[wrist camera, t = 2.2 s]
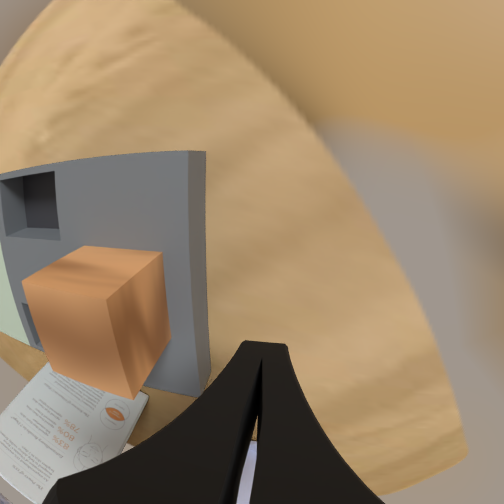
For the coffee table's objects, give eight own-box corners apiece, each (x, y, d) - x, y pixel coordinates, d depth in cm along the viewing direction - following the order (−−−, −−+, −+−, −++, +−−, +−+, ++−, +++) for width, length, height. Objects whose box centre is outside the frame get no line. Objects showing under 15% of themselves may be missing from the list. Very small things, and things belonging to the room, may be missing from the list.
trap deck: (210, 370, 17) (201, 397, 15) (8, 315, 19) (-8, 327, 17) (205, 151, 13) (188, 150, 10) (-18, 179, 15) (-39, 184, 13)
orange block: (171, 337, 13) (133, 400, 9) (99, 323, 14) (52, 370, 10) (162, 252, 12) (106, 299, 8) (84, 245, 12) (21, 280, 8)
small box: (65, 380, 20) (-7, 470, 8) (67, 339, 18) (-30, 445, 6) (136, 426, 21) (81, 534, 9) (152, 395, 19) (81, 533, 7)
